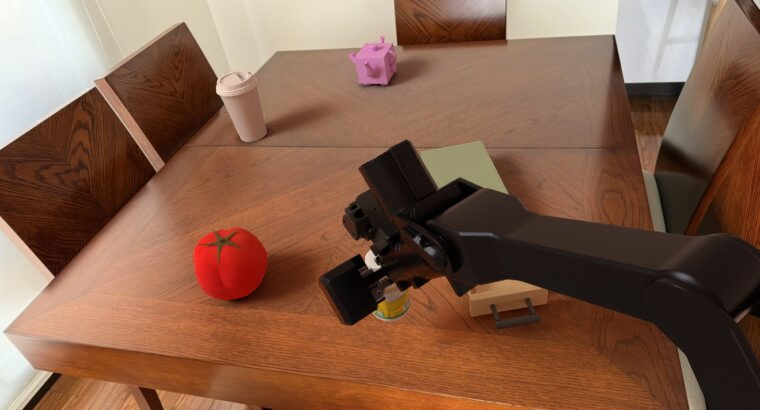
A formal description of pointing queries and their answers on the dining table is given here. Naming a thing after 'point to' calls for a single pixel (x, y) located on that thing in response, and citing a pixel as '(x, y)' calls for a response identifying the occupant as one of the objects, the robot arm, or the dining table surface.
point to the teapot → (375, 62)
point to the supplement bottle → (389, 297)
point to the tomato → (230, 263)
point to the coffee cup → (243, 103)
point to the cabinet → (463, 165)
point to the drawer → (507, 301)
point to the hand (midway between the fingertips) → (378, 267)
